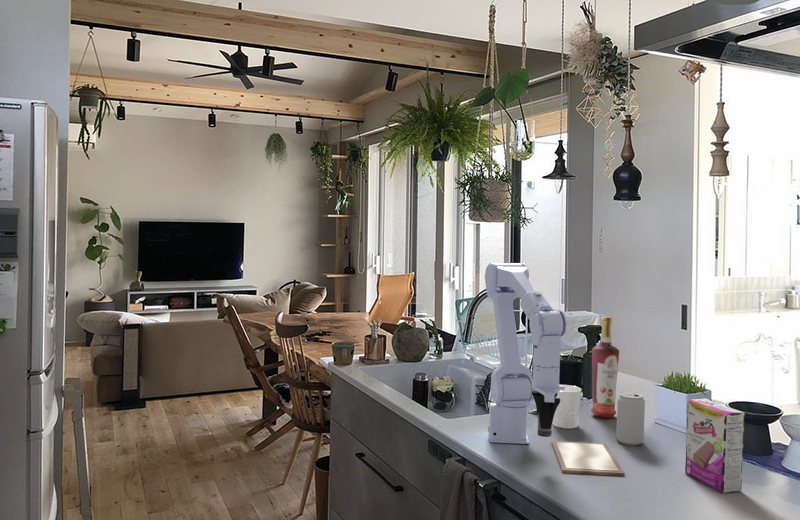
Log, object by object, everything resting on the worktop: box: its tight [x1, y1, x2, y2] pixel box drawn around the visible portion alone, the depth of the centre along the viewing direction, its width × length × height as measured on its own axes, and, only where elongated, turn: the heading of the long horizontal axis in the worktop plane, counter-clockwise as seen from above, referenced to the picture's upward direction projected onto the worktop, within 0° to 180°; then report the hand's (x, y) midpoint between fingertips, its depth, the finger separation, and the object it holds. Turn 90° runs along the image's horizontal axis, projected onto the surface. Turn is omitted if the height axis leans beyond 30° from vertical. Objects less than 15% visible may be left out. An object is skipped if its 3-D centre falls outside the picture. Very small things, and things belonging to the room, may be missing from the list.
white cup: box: [552, 384, 582, 430], centre depth 174 cm, size 8×8×10 cm
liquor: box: [590, 316, 620, 420], centre depth 182 cm, size 7×7×28 cm
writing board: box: [550, 440, 626, 477], centre depth 149 cm, size 13×19×1 cm
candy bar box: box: [684, 398, 746, 494], centre depth 135 cm, size 11×5×16 cm, turn 17°
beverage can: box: [615, 391, 646, 447], centre depth 160 cm, size 6×6×12 cm
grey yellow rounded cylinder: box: [537, 414, 553, 438], centre depth 144 cm, size 3×3×7 cm
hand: (544, 426), depth 144 cm, fingers closed on grey yellow rounded cylinder, 3 cm apart
